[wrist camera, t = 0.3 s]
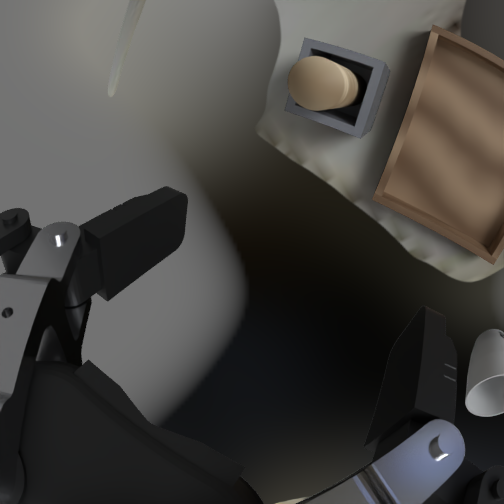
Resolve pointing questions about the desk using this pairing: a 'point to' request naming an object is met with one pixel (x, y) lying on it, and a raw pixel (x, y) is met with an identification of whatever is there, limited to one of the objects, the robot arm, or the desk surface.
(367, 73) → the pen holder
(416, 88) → the tray
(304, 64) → the dowel
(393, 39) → the desk surface
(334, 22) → the desk surface
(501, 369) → the cup
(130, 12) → the desk surface
